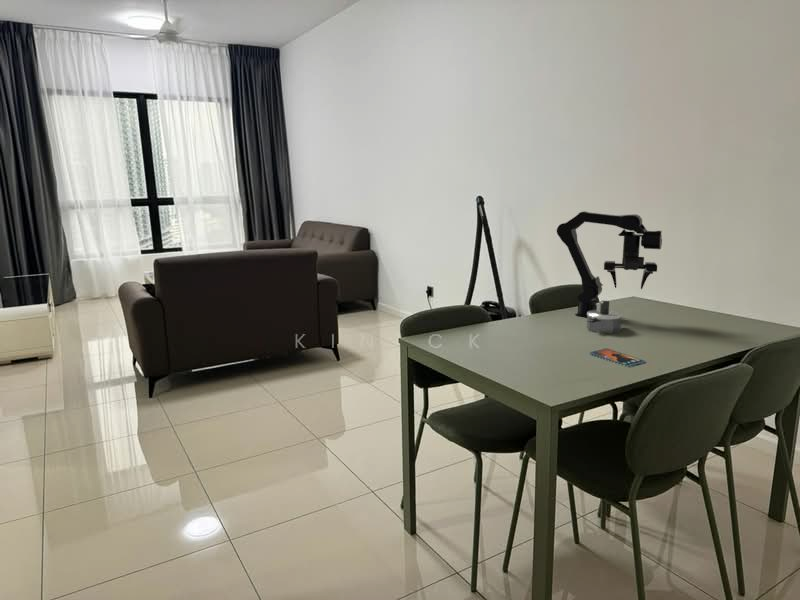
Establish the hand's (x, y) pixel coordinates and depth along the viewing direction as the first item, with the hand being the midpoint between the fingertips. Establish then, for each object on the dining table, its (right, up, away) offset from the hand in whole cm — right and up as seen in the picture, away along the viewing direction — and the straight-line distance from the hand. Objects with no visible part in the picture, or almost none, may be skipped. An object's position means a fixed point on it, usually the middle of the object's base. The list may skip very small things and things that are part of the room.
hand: (628, 288), depth 216 cm
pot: (-13, -15, -11) cm, 23 cm away
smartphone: (-21, -23, -43) cm, 53 cm away
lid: (-14, -11, -11) cm, 21 cm away
